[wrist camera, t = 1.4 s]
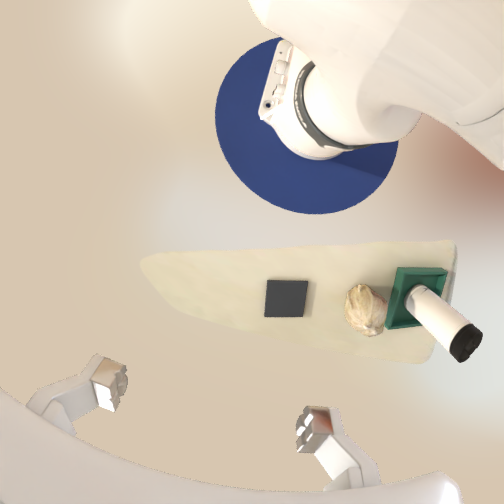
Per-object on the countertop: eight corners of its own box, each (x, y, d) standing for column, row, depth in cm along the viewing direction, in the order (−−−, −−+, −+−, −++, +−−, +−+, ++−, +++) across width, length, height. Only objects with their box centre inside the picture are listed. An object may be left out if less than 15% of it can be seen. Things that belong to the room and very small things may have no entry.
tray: (397, 267, 47) (404, 271, 45) (441, 267, 48) (447, 271, 45) (382, 323, 51) (387, 329, 48) (425, 319, 52) (431, 324, 49)
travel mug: (417, 276, 47) (480, 326, 28) (430, 293, 49) (488, 342, 30) (397, 299, 49) (454, 357, 30) (411, 315, 50) (464, 370, 31)
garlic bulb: (365, 305, 52) (389, 341, 44) (329, 314, 50) (351, 354, 42) (378, 269, 46) (408, 306, 38) (340, 277, 45) (368, 319, 37)
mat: (267, 280, 46) (267, 281, 46) (307, 280, 47) (308, 281, 46) (264, 315, 48) (264, 317, 48) (302, 315, 49) (302, 317, 48)
